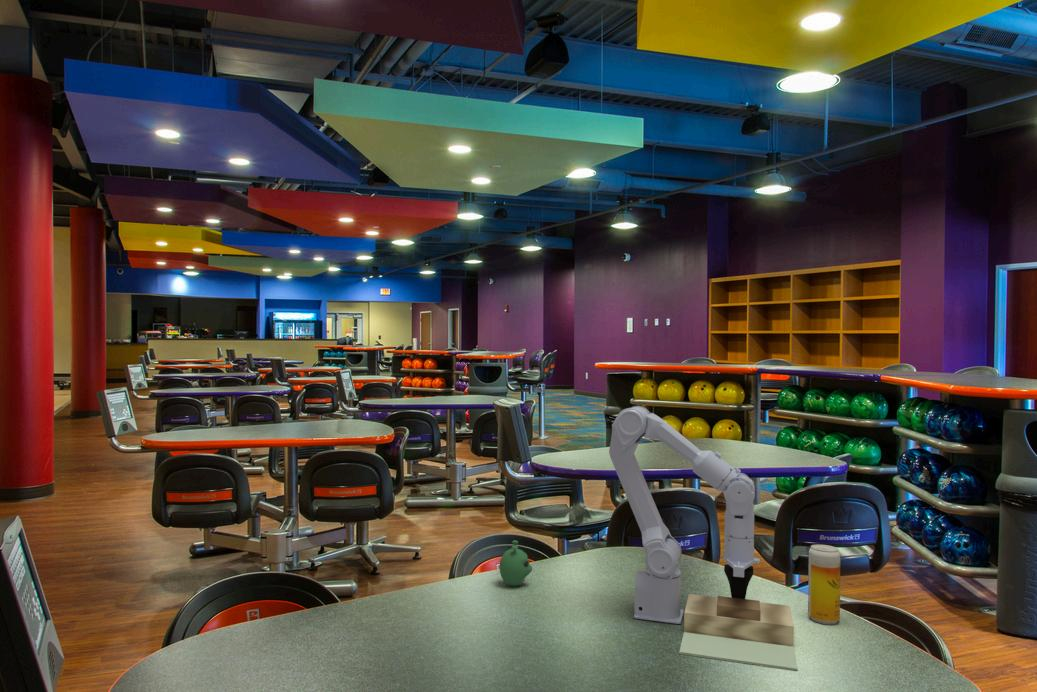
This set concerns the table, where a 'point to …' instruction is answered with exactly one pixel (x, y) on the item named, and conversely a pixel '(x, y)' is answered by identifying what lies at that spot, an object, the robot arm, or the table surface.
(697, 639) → the sage mat
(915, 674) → the table surface
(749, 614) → the walnut tile
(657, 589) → the robot arm
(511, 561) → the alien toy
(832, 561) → the beer can
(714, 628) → the birch deck
